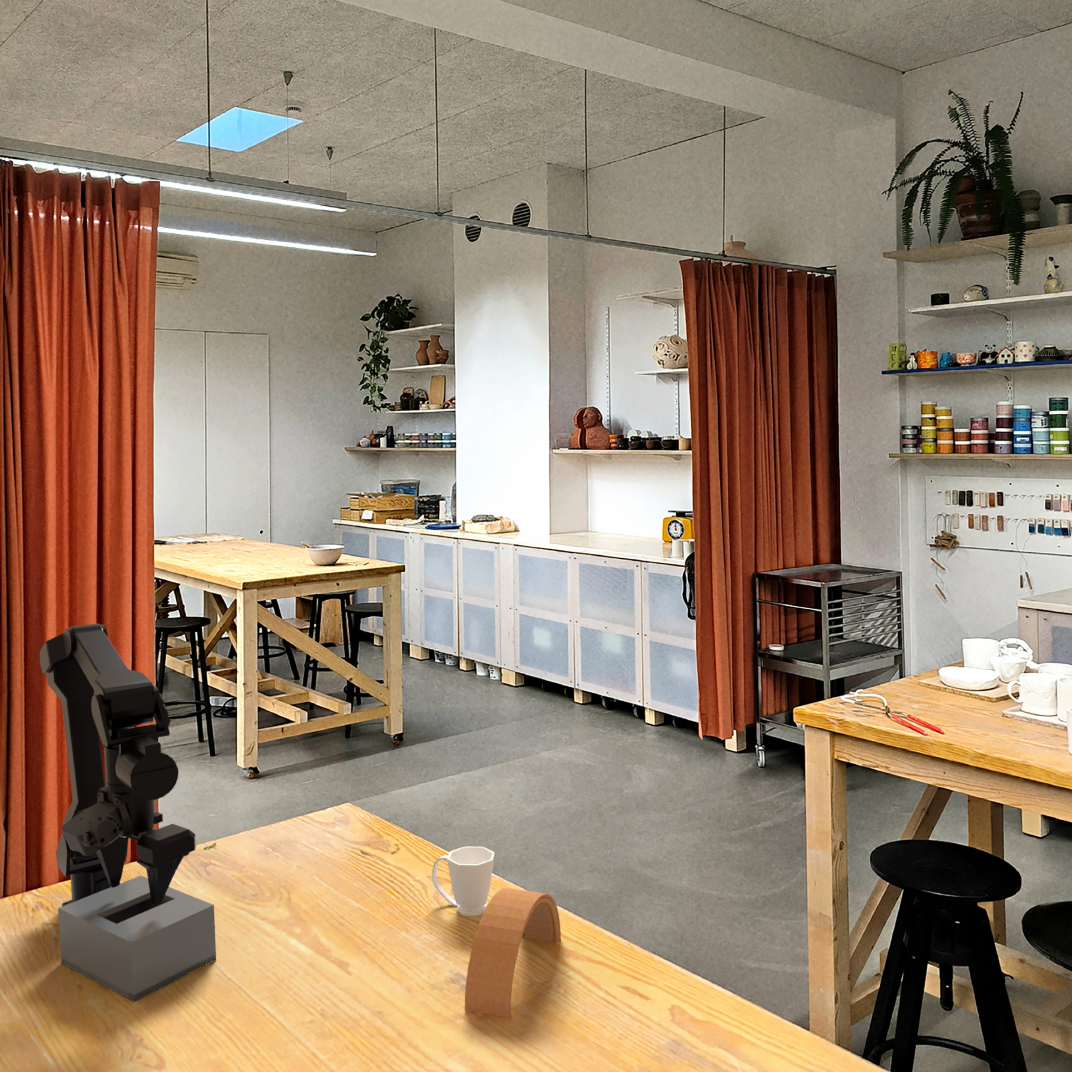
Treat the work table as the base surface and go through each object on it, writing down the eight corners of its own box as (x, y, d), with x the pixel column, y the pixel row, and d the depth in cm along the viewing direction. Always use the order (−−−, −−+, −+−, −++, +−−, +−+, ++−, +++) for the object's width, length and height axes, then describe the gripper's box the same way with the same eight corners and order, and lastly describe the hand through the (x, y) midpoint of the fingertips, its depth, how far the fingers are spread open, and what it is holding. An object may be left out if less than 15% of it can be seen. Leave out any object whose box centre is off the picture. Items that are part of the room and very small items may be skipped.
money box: (61, 963, 134) (58, 908, 133) (143, 927, 144) (140, 875, 143) (134, 1001, 125) (131, 942, 124) (216, 960, 135) (213, 904, 134)
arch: (562, 940, 139) (561, 869, 138) (508, 1019, 121) (507, 937, 120) (522, 933, 141) (521, 863, 140) (463, 1010, 123) (461, 930, 122)
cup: (480, 924, 144) (480, 868, 143) (420, 910, 148) (419, 856, 148) (504, 904, 150) (504, 850, 149) (446, 890, 155) (445, 838, 154)
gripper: (29, 782, 131) (36, 900, 132) (115, 812, 120) (121, 940, 122) (109, 759, 140) (115, 870, 141) (195, 785, 129) (200, 904, 131)
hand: (135, 895), depth 134 cm, fingers open, 9 cm apart
